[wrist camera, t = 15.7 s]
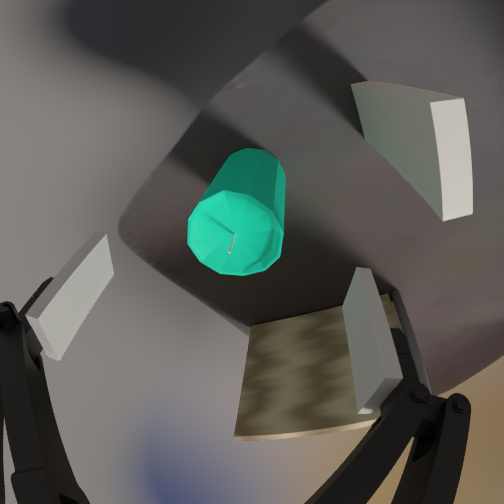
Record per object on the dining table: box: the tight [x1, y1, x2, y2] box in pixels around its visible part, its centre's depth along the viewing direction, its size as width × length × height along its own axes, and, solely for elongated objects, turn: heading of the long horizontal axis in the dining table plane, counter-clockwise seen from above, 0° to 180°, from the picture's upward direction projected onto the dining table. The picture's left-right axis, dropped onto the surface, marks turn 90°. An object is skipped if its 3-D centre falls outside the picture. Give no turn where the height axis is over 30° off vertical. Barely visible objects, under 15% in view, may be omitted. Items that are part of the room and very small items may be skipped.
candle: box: [187, 148, 285, 276], centre depth 22 cm, size 6×6×12 cm
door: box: [234, 293, 399, 441], centre depth 29 cm, size 17×3×15 cm, turn 112°
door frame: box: [350, 81, 473, 441], centre depth 22 cm, size 2×31×15 cm, turn 20°
